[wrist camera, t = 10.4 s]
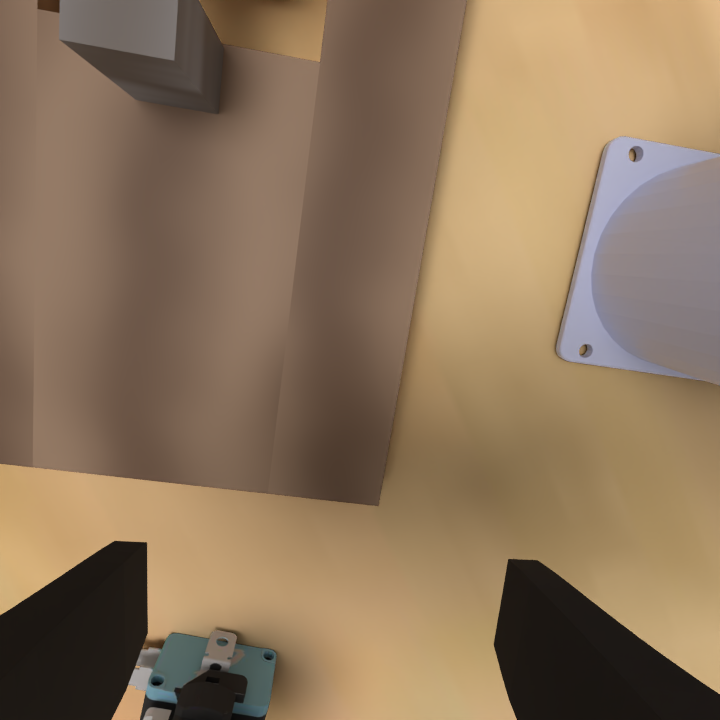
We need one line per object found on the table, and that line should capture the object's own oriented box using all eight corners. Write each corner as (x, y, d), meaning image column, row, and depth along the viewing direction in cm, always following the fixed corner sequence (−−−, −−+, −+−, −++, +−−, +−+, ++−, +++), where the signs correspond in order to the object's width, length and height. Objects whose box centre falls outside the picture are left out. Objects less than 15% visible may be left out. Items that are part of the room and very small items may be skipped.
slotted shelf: (498, -251, 14) (613, -605, 8) (373, 480, 19) (391, 579, 13) (-67, -393, 13) (-399, -929, 7) (-46, 431, 18) (-231, 517, 12)
